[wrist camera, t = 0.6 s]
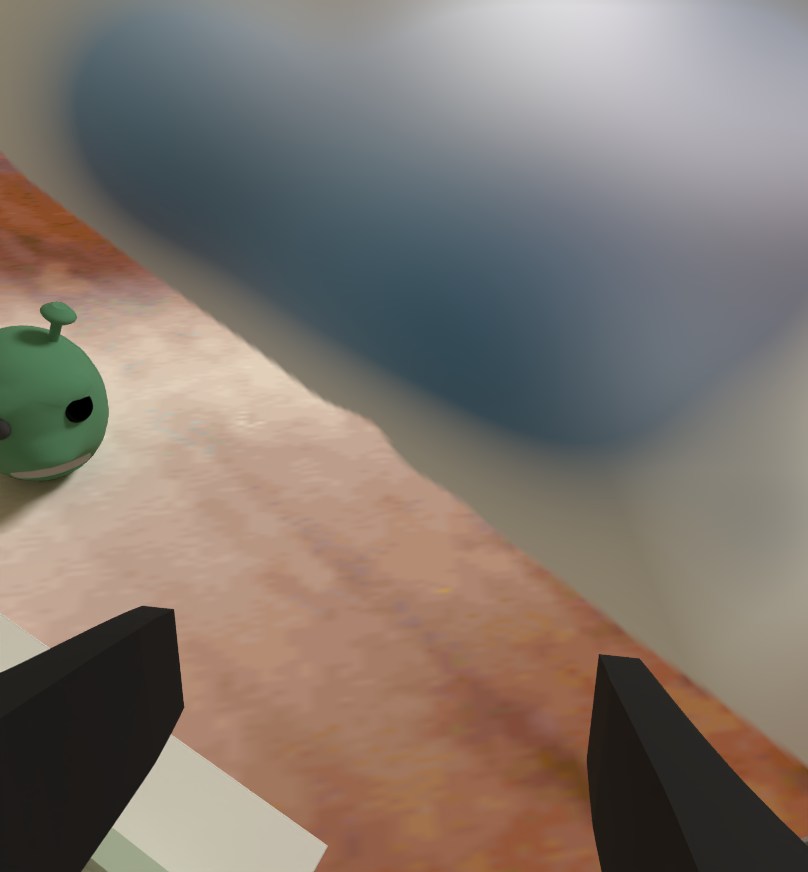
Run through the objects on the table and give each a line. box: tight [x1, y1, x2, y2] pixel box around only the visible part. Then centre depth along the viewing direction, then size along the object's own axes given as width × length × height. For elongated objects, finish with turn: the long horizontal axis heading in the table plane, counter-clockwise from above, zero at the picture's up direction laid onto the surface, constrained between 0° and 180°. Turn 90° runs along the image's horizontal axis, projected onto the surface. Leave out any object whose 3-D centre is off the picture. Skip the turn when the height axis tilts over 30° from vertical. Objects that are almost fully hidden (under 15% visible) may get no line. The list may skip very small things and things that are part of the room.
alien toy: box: [0, 302, 109, 481], centre depth 32 cm, size 7×8×10 cm
